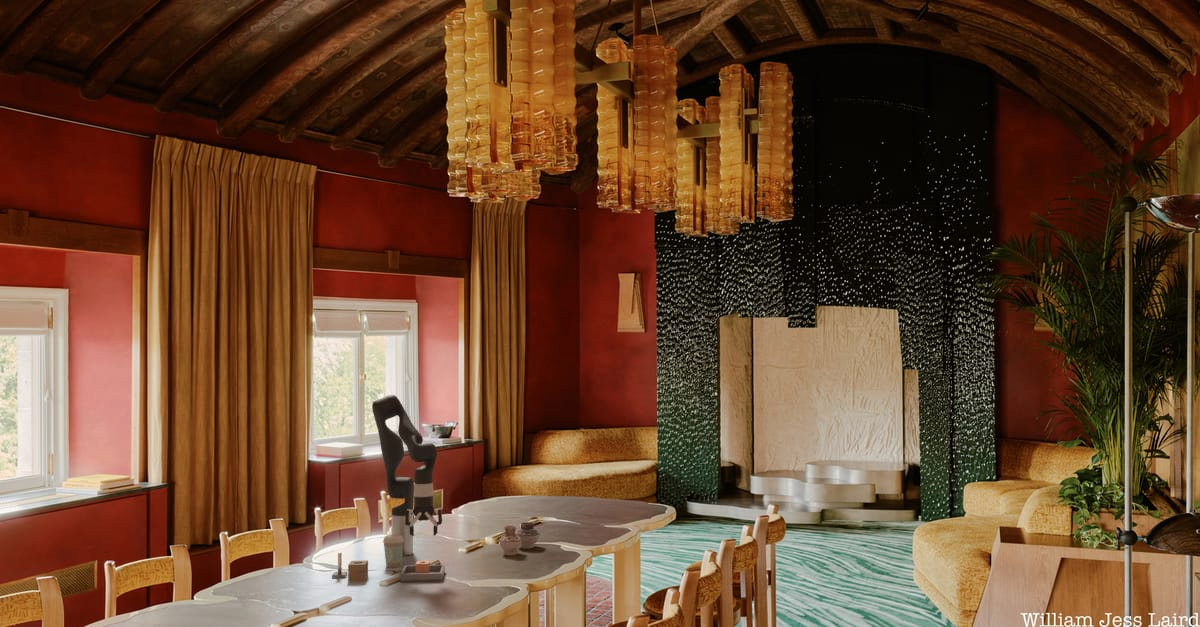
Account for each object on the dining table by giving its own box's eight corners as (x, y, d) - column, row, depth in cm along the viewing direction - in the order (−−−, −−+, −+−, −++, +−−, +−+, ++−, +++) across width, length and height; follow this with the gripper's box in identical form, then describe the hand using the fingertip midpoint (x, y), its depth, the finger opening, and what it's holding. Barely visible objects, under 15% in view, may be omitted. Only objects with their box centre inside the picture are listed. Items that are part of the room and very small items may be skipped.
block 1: (351, 577, 361) (351, 560, 362) (367, 576, 362) (368, 560, 362) (348, 581, 355) (348, 564, 355) (365, 581, 356) (365, 564, 356)
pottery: (493, 555, 397) (493, 527, 397) (522, 543, 420) (522, 517, 420) (516, 557, 392) (515, 529, 393) (544, 545, 415) (544, 519, 415)
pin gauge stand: (334, 574, 365) (334, 551, 365) (347, 574, 365) (347, 551, 366) (332, 578, 360) (332, 554, 360) (345, 577, 360) (345, 554, 361)
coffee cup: (381, 564, 382) (381, 535, 382) (402, 562, 385) (402, 533, 385) (384, 569, 374) (384, 539, 374) (405, 567, 377) (405, 537, 377)
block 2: (415, 576, 358) (415, 563, 358) (416, 573, 363) (416, 560, 363) (428, 576, 359) (428, 563, 359) (429, 573, 363) (429, 560, 364)
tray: (404, 573, 367) (404, 565, 367) (444, 572, 368) (444, 564, 369) (400, 582, 353) (400, 574, 353) (442, 581, 355) (442, 573, 355)
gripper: (404, 496, 357) (404, 538, 357) (441, 495, 359) (441, 537, 358) (406, 493, 365) (406, 534, 364) (442, 492, 366) (442, 533, 366)
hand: (423, 535), depth 361 cm, fingers open, 8 cm apart
